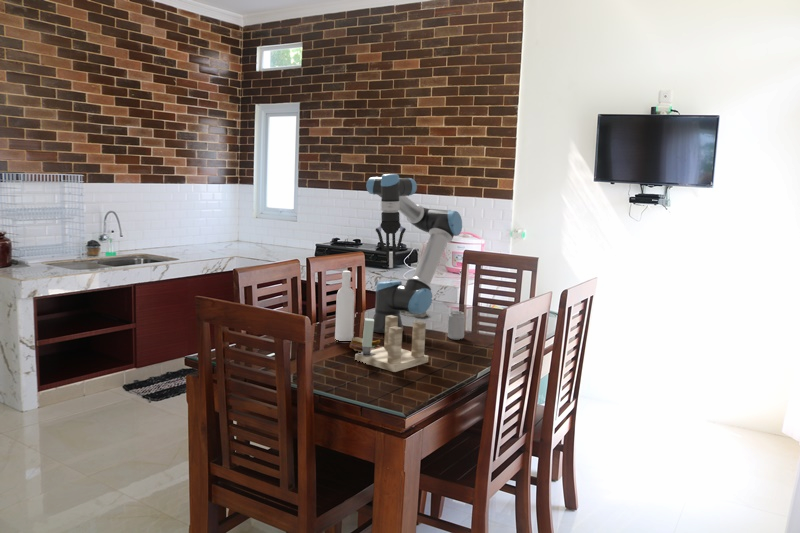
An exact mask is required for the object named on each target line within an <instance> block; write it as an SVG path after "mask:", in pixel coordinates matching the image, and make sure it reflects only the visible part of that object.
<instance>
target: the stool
mask: <svg viewBox="0 0 800 533" xmlns="http://www.w3.org/2000/svg"><path fill="white" fill-rule="evenodd" d="M426 326H427V323H426V322H424V321H419V320H418V321H414V322H412V333H411V334H412V335H411V351H410V350H407V349H403V347H402V343H403V331H402V328H401V327H398V317H397V316H393V315H390V316H386V319H385V333H384V340H383V342H384V345H383V347H382V348H378V349H374V350H371V352H370V353H369V354H367V355H366V354H364V353H363V352H361V353H359V352H356V353H355V355H354V361H355V360H357V361H356V362H359V361H360V363H362V362H363V363H362V364H365V363H366V364H365V365H368V366H369V365H370V366H373V367H376V368H380V369H383V370H386V371H389V372H393V373H396V372H397V373H398V372H400V371H403V370H407V369H409V368H413V367H417V366H420V365H423V364H427V363H429V355H428V354H427V355H426V354H425V346H426V345H425V344H426V328H427V327H426Z"/></svg>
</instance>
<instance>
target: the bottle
mask: <svg viewBox="0 0 800 533" xmlns="http://www.w3.org/2000/svg"><path fill="white" fill-rule="evenodd" d="M351 277H352V272H351V271H350V270H343V271H342V273H341V288H339V289H338V291H337V293H336V299H335V300H336V304H335V305H336V306H335V308H336V309H335V326H334V327H335V331H334V340H335V339H336V340H339V341H351V340H352V338H354V327H355V326H354V325H355V323H354V322H355V321H354V320H355V304H356V303H355V297H356V295H355V292H354V289H352V288H351V279H352V278H351ZM336 340H335V341H336Z"/></svg>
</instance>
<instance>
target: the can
mask: <svg viewBox="0 0 800 533" xmlns="http://www.w3.org/2000/svg"><path fill="white" fill-rule="evenodd" d="M447 318H448V320H447V334H446V336H447V337H448V339H450V340H457V341H459V340H460V339H461V340H463V339H464V338H465V329H466V328H465V327H466V325H465V324H466V315H465V312H463V311H459V310H457V311H456V310H455V311H454V310H453V311H450V312H449V314H448V317H447Z"/></svg>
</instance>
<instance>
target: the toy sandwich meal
mask: <svg viewBox="0 0 800 533" xmlns="http://www.w3.org/2000/svg"><path fill="white" fill-rule="evenodd" d="M362 341H363V337H358V336H353V338H352V340H351V342H349V348H350V349H353V350H354V351H355V352H356V351H358V352H357V353H359V352H363V347H362ZM380 342H381V339H377V340H372V347H370V349H371V350H374V349H378V348H382V347H384V345H379V344H380Z"/></svg>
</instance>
